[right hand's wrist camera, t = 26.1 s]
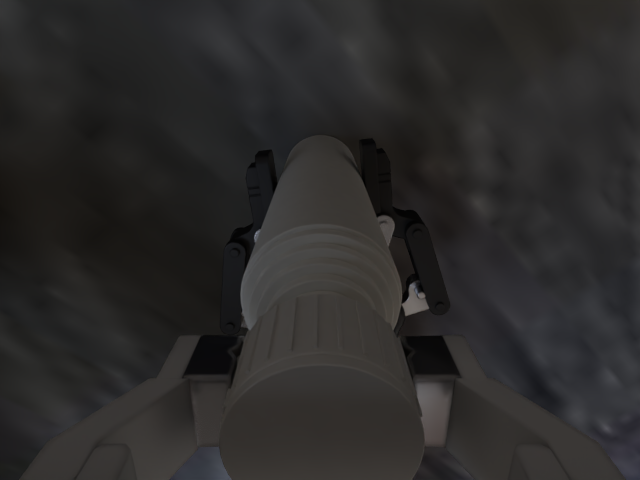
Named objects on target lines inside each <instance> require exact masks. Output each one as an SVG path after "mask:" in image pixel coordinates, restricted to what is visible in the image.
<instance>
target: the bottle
mask: <svg viewBox="0 0 640 480" xmlns="http://www.w3.org/2000/svg"><path fill="white" fill-rule="evenodd" d="M240 294H241V305H242V310H243V314H244V319H245V321H246V324H247V327H248V329H249V330H251V328H252V327H253V326H254V324H255V323H256V322H257V321H258V318H259V317H260V316H263V315H264V314H265V313H267V312H268V311H269V310H271V309H272V308H274V306H275V305H279V304H281V303H283V302H285V301H288V300H290V299H293V298H295V297H300V296H305V295H312V294H330V295H339V296H343V297H347V298H350V299H353V300H357V301H359V302H360V303H362V304H364V305H366V306H368V307H369V308H371V309H373V310H376V311H377V313H378V314H379V315H380V316H381V317H383V318H384V320H385V321H386V322H387V323H388V322H389V323H390V324H391V326H392V330H394V328H395V326H396V323H397V320H398V316H399V312H400V308H401V302H402V286H401V281H400V277H399V274H398V271H397V269H396V266H395V263H394V261H393V258H392V256H391V253H390V250H389V248H388V245H387V243H386V240H385V237H384V235H383V232H382V230H381V227H380V224H379V222H378V219H377V217H376V214H375V211H374V209H373V206H372V204H371V201H370V198H369V196H368V193H367V191H366V188H365V185H364V183H363V180H362V178H361V175H360V172H359V170H358V167H357V165H356V162H355V160H354V157H353V155H352V153H351V151H350V150H349V148H348V147H347V146H346V145H345V144H344V143H343V142H341V141H340V140H338V139H336V138H334V137H331V136H326V135H315V136H310V137H308V138H305V139H303V140H302V141H300V142H299V143H298V144H297V145H296V146H295V147H294V148H293V149H292V150H291V152H290V154H289V156H288V158H287V161H286V163H285V166H284V169H283V171H282V174H281V177H280V179H279V182H278V185H277V187H276V190H275V193H274V195H273V198H272V201H271V203H270V206H269V209H268V211H267V214H266V217H265V219H264V222H263V225H262V227H261V230H260V233H259V235H258V238H257V241H256V243H255V246H254V249H253V251H252V254H251V257H250V259H249V262H248V265H247V267H246V270H245V273H244V275H243V279H242V283H241V293H240Z"/></svg>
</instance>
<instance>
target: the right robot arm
mask: <svg viewBox="0 0 640 480" xmlns="http://www.w3.org/2000/svg"><path fill="white" fill-rule="evenodd" d="M398 337H399V338H400V340H401V344H402V347H403V350H404V353H405V357H406V360H407V364H408V367H409V370H410V374H411V377H412V380H413V384H414V387H415V390H416V394H417V397H418V401H419V404H420V408H421V411H422V415H423V417H420V418H421V421H422V425H423V429H424V436H425V447H446V450H447V451H448V452H449V453H450V454H451V455H452V456H453V457H454V458H455V459H456V460H457V461H458V462H459V463H460V464H461V466H462V467H463V468H464V469H465V470H466V471H467V472H468V473H469V474H470V475H471V476H472V477H473V478H474V479H475V480H626V479H625V478H624V476H623V475H622V474H621V472H620V471H619V470H618V468H617V467H616V466H615V464H614V463H613V462H612V460H611V459H610V458H609V456H608V455H607V454H606V452H605V451H604V450H603V448H602V447H601V445H600V444H599V443H598V442H597V441H595V440H593V439H592V438H590V437H589V436H587V435H585V434H584V433H582V432H580V431H579V430H577V429H576V428H574V427H572V426H571V425H569V424H567V423H566V422H564V421H563V420H561V419H559V418H558V417H556V416H554V415H553V414H551V413H549V412H548V411H546V410H545V409H543V408H541V407H540V406H538V405H536V404H535V403H533V402H532V401H530V400H528V399H527V398H525V397H523V396H522V395H520V394H519V393H517V392H515V391H514V390H512V389H510V388H509V387H507V386H506V385H504V384H502V383H501V382H499V381H497V380H496V379H494V378H487V376H486V375H485V373H484V371H483V369H482V367H481V366H480V364H479V362H478V360H477V358H476V357H475V355H474V353H473V351H472V349H471V348H470V346H469V344H468V342H467V340H466V339H465V337H464V336H463V335H440V336H398ZM244 340H245V337H244V336H226V335H203V336H202V335H181V336H179V337H178V339H177V340H176V342H175V344H174V346H173V348H172V350H171V352H170V353H169V355H168V357H167V359H166V361H165V363H164V365H163V366H162V368H161V370H160V372H159V374H158V376H157V378H150V379H148V380H146V381H145V382H143V383H142V384H140V385H138V386H137V387H135V388H133V389H132V390H130V391H129V392H127V393H125V394H124V395H122V396H120V397H119V398H117V399H116V400H114V401H112V402H111V403H109V404H107V405H106V406H104V407H103V408H101V409H99V410H98V411H96V412H95V413H93V414H91V415H90V416H88V417H86V418H85V419H83V420H82V421H80V422H78V423H77V424H75V425H73V426H72V427H70V428H69V429H67V430H65V431H64V432H62V433H61V434H59V435H57V436H56V437H54V438H52V439H51V440H49V441H48V442H47V443H46V444H45V445H44V447H43V448H42V449H41V451H40V452H39V453H38V455H37V456H36V458H35V459H34V460H33V462H32V463H31V464H30V466H29V467H28V468H27V470H26V471H25V472H24V474H23V475H22V476H21V478H20V479H19V480H169V479H170V478H171V477H172V476H173V475H174V474H175V473H176V472H177V471H178V470H179V469H180V467H181V466H182V465H183V464H184V463H185V462H186V461H187V460H188V459H189V458H190V457H191V456H192V455H193V454H194V453H195V452H196V451H197V450H198V448H197V447H218V446H219V433H220V428H221V421H222V417H223V414H224V410H225V408H223V405H224V401H225V398H226V394H227V391H228V388H229V389H231V386H232V383H233V379H234V376H235V372H236V368H237V357H238V356H240V354H241V351H242V347H243V344H244Z"/></svg>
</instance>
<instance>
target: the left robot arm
mask: <svg viewBox="0 0 640 480" xmlns="http://www.w3.org/2000/svg"><path fill="white" fill-rule="evenodd" d="M359 146H360V159H361V172H362V180H363V183H364V185H365V188H366V191H367V193H368V196H369V198H370V201H371V204H372V206H373V209H374V211H375V214H376V217H377V219H378V222H379V224H380V227H381V230H382V232H383V235H384V237H385V240H386V243H387V245H388V246H389V243H390V240H391V237H392V236H394V237H399V238H403V239H404V240H405V243H406V246H407V249H408V252H409V255H410V258H411V261H412V264H413V268H414V271H415V274H412V275H410V276H409V277H408V278H407V280H406V291H405V292H404V294H403V295H402V302H401V308H400V312H399V316H398V320H397V323H396V326H395V328H394V330H393V331H394V333H395V335H396V337H397V338H398V333H399V330H400V328H401V326H402V325H403V323H404V320H405V316H408V315H411V314H414V313H417V312H420V311H424V310H427V309H430V311H431V312H432V313H433V314H435V315H442V314H445V313H446V312H447V311H448V310H449V308H450V302H449V298H448V295H447V292H446V288H445V285H444V282H443V278H442V275H441V272H440V268H439V265H438V262H437V258H436V255H435V252H434V248H433V245H432V242H431V238H430V235H429V232H428V229H427V227H426V226H425V224H424V223H423V221H422V220H421V218H420V217H419V215H418V214H417V213H416V212H415V211H413V210H406V211H404V210H400V209H396V208H394V207H393V206H392V190H391V173H390V172H391V171H390V161H389V159H388V157H387V155H386V153H385V151H384V150H383V149H382V148H380V149H376V144H375V141H374V140H373V139H372V138H371V139H362V140H359ZM246 182H247V188H248V193H249V199H250V204H251V210H252V215H253V223H252V224H251V225H249V226H247V227H245V228H237V229H235V230H234V232H233V233H232V235H231V239H230V241H229V242H228V243H227V245H226V246H225V248H224V257H223V276H222V295H221V314H220V328H221V330H222V331H223V332H224V333H225V334H228V335H234V334H236V333H238V332H239V330H240V327H244V328H248V327H247V324H246V321H245V319H244V314H243V310H242V305H241V294H240V293H241V283H242V279H243V275H244V273H245V270H246V267H247V265H248V262H249V259H250V257H251V254H252V251H253V249H254V246H255V243H256V241H257V238H258V235H259V233H260V230H261V227H262V225H263V222H264V219H265V217H266V214H267V211H268V209H269V206H270V203H271V201H272V198H273V195H274V193H275V190H276V187H277V185H278V184H277V177H276V171H275V164H274V158H273V153H272V150H263V151H258V153H257V154H256V155H255V162H254V163H251V164H250V166H249V167H248V169H247V174H246Z"/></svg>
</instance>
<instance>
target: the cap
mask: <svg viewBox="0 0 640 480" xmlns="http://www.w3.org/2000/svg"><path fill="white" fill-rule="evenodd" d="M223 408H225V410H224V414H223V417H222V421H221V428H220V433H219V448H220V455H221V458H222V461H223V464H224V467H225V469H226V471H227V473H228V475H229V476H230V477H231V479H232V480H412V479H413V477H414V476H415V474H416V472H417V471H418V468H419V466H420V464H421V461H422V457H423V453H424V446H425V436H424V429H423V425H422V421H421V418H420V417H423V415H422V411H421V408H420V404H419V401H418V397H417V394H416V390H415V387H414V384H413V380H412V377H411V374H410V370H409V367H408V364H407V360H406V357H405V353H404V350H403V347H402V344H401V340H400V338H399V337H398V338H397V337H396V335H395V333H394V331H393V330H392V326H391V324H390V323H389V322H388V323H387V322H386V321H385V320H384V318H383V317H381V316H380V315H379V314H378V313H377V311H376V310H373V309H371V308H369V307H368V306H366V305H364V304H362V303H360V302H359V301H357V300H353V299H350V298H347V297H343V296H339V295H330V294H312V295H305V296H300V297H295V298H293V299H290V300H288V301H285V302H283V303H281V304H279V305H275V306H274V308H272V309H271V310H269V311H268V312H267V313H265V314H264V315H263V316H260V317H259V318H258V321H257V322H256V323H255V324H254V326H253V327H252V328H251V330H248V331H247V333H246V336H245V340H244V344H243V347H242V351H241V354H240V356H238V357H237V368H236V372H235V376H234V379H233V383H232V386H231V389H229V388H228V391H227V394H226V398H225V401H224V405H223Z"/></svg>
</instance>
